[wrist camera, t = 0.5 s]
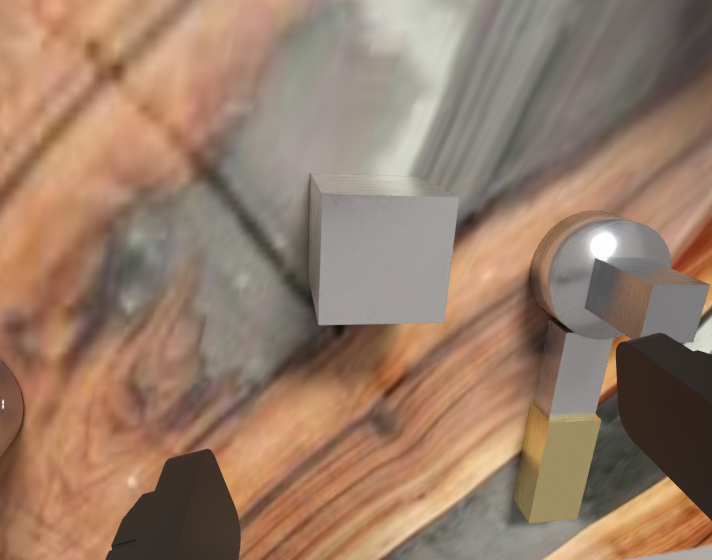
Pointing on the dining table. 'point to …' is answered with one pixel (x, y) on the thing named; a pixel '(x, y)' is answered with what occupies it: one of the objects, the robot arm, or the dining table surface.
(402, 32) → the dining table surface
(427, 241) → the brushed steel cube
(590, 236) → the ratchet
